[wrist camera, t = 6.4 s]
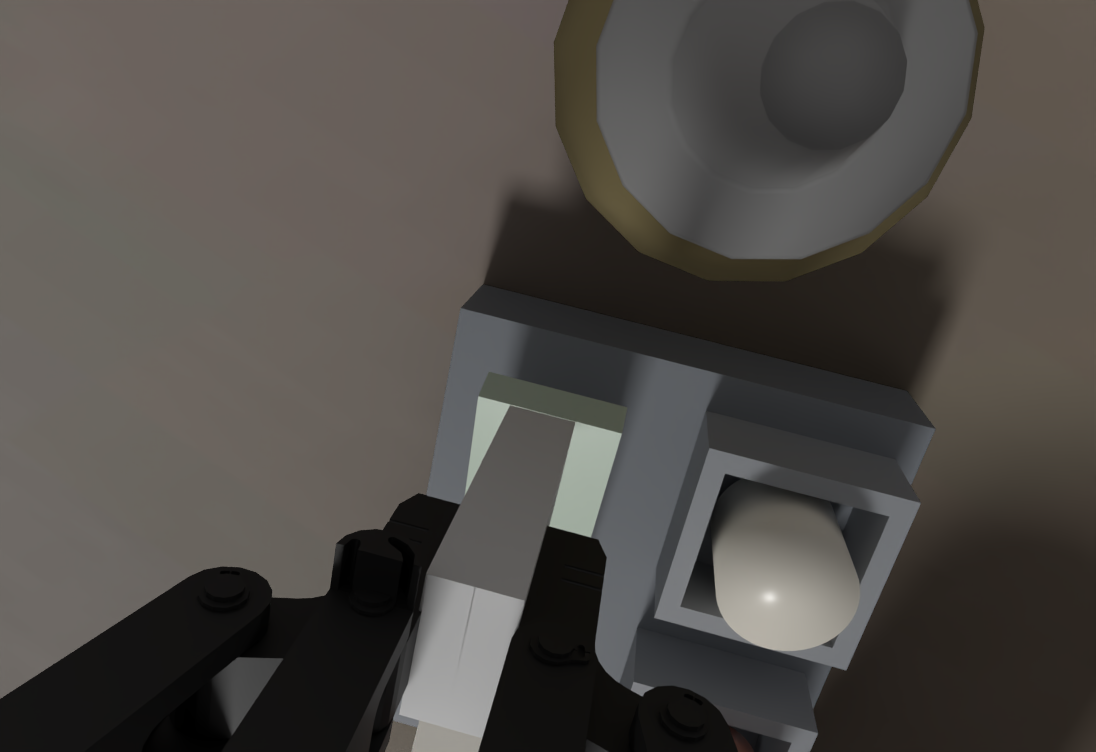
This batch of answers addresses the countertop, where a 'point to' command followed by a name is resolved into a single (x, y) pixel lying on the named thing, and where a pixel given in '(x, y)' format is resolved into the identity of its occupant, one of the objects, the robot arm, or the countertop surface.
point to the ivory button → (781, 567)
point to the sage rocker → (586, 452)
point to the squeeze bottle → (762, 122)
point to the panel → (699, 489)
